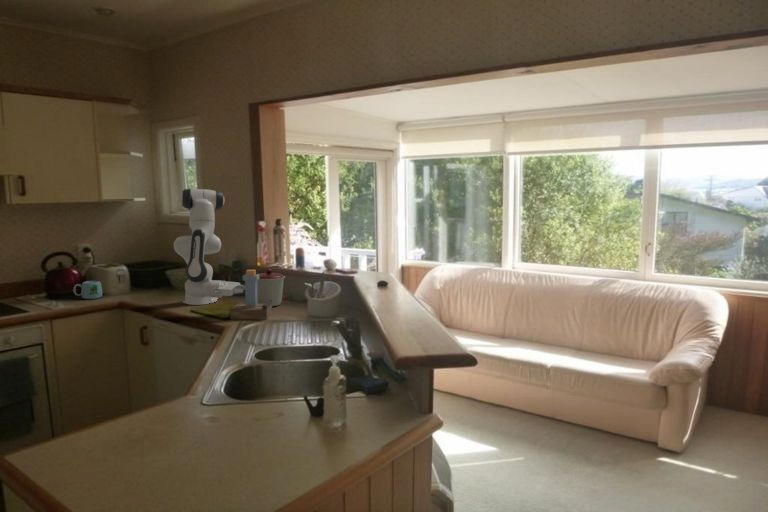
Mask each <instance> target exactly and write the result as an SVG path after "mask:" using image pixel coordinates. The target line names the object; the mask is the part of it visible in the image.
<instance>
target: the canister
mask: <svg viewBox="0 0 768 512" xmlns="http://www.w3.org/2000/svg"><path fill="white" fill-rule="evenodd" d="M258 274H259V279H258V280H257V303H265V302H266V301H267V300H272V308H273V307H277V306H279V305H281V303H282V299H283V292H284V280H285V278H286V276H285V275H284V274H283V273H278V272H273V269H271V268H266V269H265V272H263V273H258Z"/></svg>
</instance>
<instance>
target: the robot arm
mask: <svg viewBox="0 0 768 512" xmlns="http://www.w3.org/2000/svg"><path fill="white" fill-rule="evenodd" d="M179 196H180V197H179V198H180V199H179V200H180V204H181V206H182V207H183V208H184V209H187V210H189V215H188V217H189V218H188V226H189V229H190V230H191V235H183V236H179V237H178V236H177V238H175V240H174V241H173V249H174V251H175V253H176V254H178V255H179V256H181V257H182V258H183V259H184V261H185V263H186V265H187V266H186V267H185V276H186V278H187V281H185V283H184V291H185V298H184V300H183V301H182V304H187V305H191V306H194V305H195V306H198V305H199V306H200V305H201V306H202V305H209V303H210V304H215V303H214V302H216V301H217V302H218V300H219V299H221V298H223V297H231V296H233V295H234V294H242V293H244V292H245V284H244V285H243V284H241V282H236V281H226V280H222V279H221V280H219V279H217V280H215V279H213V274H214V270H213V269H214V268H213V267H212V265H211V264H209V263H207V262H205V259H204V257H205V255H212V254H216V253H219V252H220V250H221V249H222V241H221V239H220V237H219V236H217V235H216V234H215V233H214V232H215V227H216V226H215V224H216V219H215V218H216V216H215V211H220V210H221V209H223V207H224V205H225V199H226V198H225V196H224V193H223V192H222V191H219V190H213V189H206V188H185V189H183V190H182V192H181V194H180V195H179ZM217 299H218V300H217ZM217 302H216V303H217Z"/></svg>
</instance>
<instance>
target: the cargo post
mask: <svg viewBox="0 0 768 512" xmlns="http://www.w3.org/2000/svg"><path fill="white" fill-rule="evenodd" d="M259 274H260V273H256V276H246V273H245V274H244V275H243V276H242V281H244V286H245V289H244V292H245V299H244V300H245V303H246V307H256V306H257V305H258V304H257V280H258V279H259Z"/></svg>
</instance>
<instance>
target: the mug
mask: <svg viewBox="0 0 768 512" xmlns="http://www.w3.org/2000/svg"><path fill="white" fill-rule="evenodd" d="M77 287H80V288H81V292H80V293H78V292H77V291H76V288H77ZM72 291H73V293H74V295H75V296H78V297H80V296H81V298H82V299H84V300H95V299H100V298H101V297H102V296H103V287H102V283H101V281H99V280H86V281H84V282H82V283H80V284H78V283H77V284H75V285H74V286H73V289H72Z"/></svg>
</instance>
